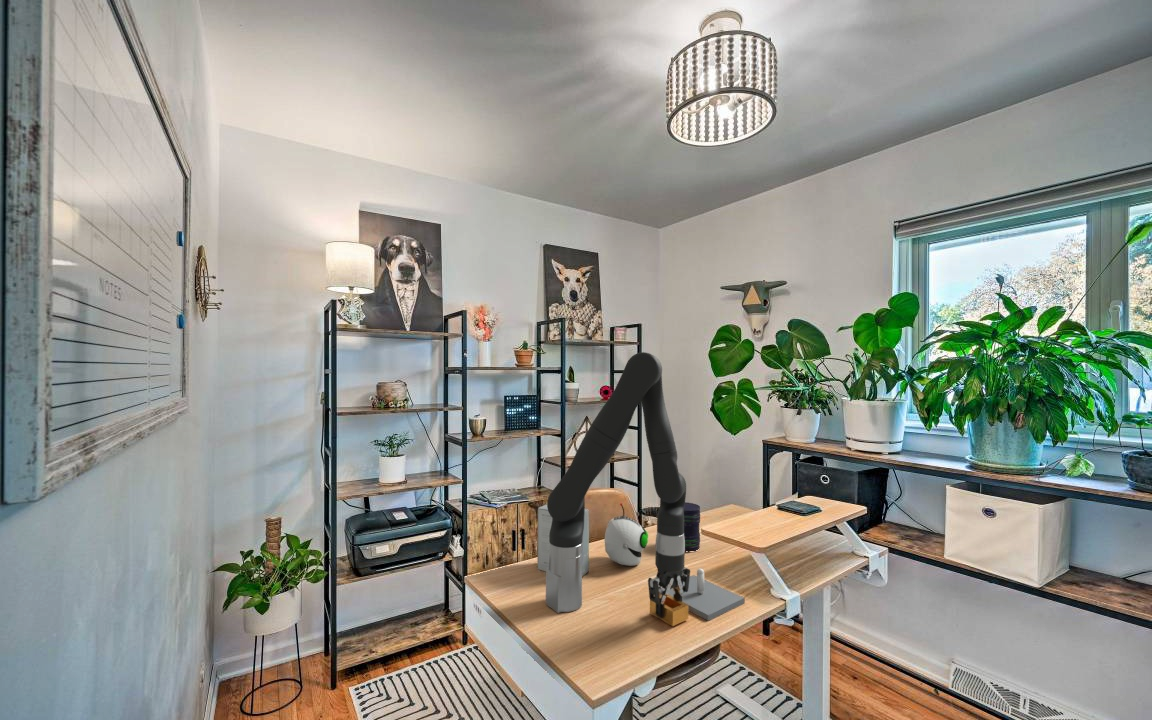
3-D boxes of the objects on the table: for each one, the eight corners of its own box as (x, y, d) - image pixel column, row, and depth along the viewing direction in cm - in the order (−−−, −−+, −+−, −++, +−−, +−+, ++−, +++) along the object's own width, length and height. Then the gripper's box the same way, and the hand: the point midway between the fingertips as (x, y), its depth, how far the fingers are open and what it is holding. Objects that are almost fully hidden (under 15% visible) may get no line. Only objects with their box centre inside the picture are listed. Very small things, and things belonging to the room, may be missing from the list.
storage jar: (683, 540, 184) (684, 500, 184) (705, 548, 177) (706, 506, 177) (666, 546, 178) (667, 505, 178) (688, 554, 170) (689, 512, 170)
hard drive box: (589, 571, 156) (590, 509, 156) (577, 581, 149) (578, 515, 149) (549, 561, 164) (549, 501, 164) (536, 569, 157) (536, 507, 157)
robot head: (646, 576, 153) (647, 512, 153) (601, 572, 155) (601, 509, 155) (648, 556, 169) (648, 498, 169) (606, 552, 171) (607, 495, 171)
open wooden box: (672, 626, 123) (672, 612, 123) (649, 612, 129) (649, 599, 129) (688, 619, 127) (688, 605, 127) (665, 606, 133) (665, 593, 133)
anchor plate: (708, 621, 127) (708, 588, 127) (657, 594, 141) (657, 564, 141) (744, 603, 136) (744, 572, 136) (693, 579, 151) (693, 552, 151)
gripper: (661, 560, 121) (660, 627, 121) (699, 547, 129) (698, 610, 129) (640, 550, 127) (639, 615, 127) (677, 539, 135) (676, 599, 135)
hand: (669, 612), depth 128 cm, fingers closed on open wooden box, 6 cm apart
